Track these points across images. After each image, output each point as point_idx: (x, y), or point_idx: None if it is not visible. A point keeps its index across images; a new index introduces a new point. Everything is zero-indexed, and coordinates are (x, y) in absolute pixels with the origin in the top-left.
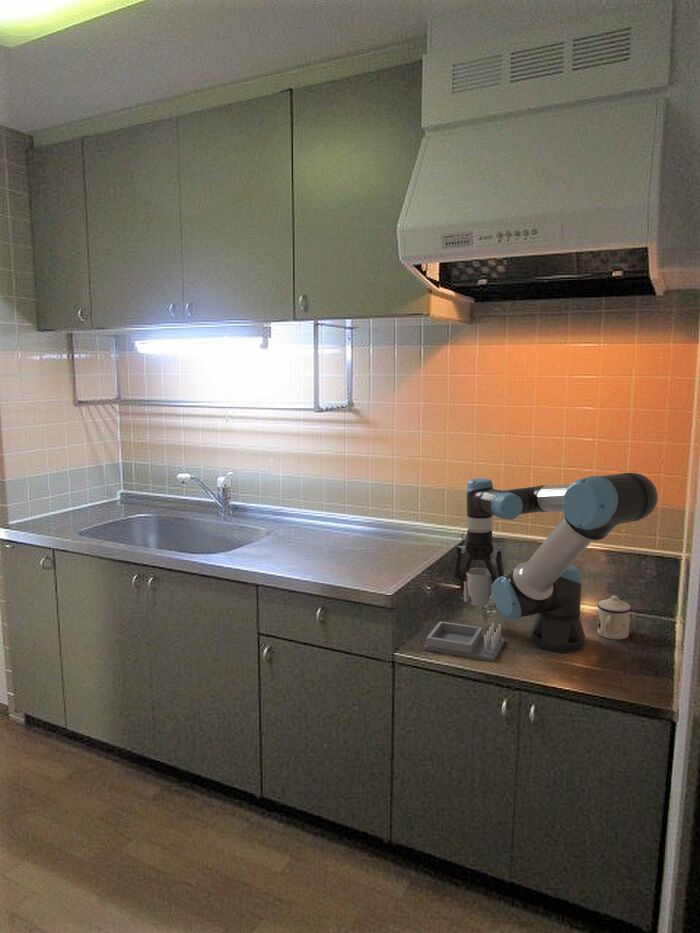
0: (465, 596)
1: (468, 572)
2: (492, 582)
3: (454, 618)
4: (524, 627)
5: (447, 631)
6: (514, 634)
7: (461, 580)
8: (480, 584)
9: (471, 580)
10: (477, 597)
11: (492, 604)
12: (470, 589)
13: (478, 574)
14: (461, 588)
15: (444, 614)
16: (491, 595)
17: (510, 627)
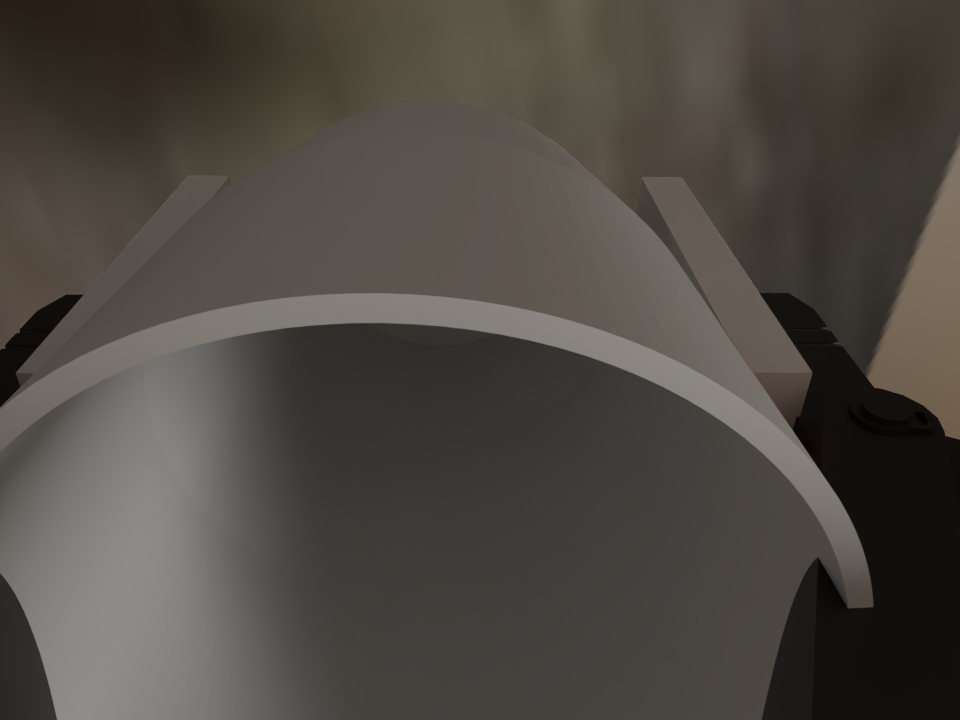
0: (676, 215)
1: (762, 669)
2: (117, 501)
3: (743, 227)
4: (18, 255)
5: None
6: (12, 30)
7: (885, 391)
8: (276, 186)
9: (588, 236)
10: (414, 105)
11: (197, 180)
12: (588, 173)
13: (514, 717)
14: (800, 311)
15: (856, 289)
16: (162, 244)
17: (136, 206)
